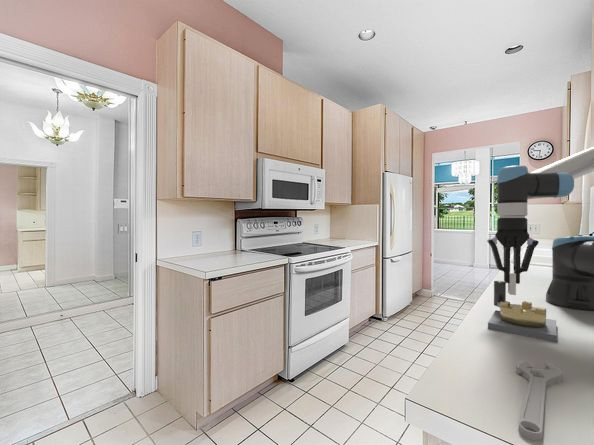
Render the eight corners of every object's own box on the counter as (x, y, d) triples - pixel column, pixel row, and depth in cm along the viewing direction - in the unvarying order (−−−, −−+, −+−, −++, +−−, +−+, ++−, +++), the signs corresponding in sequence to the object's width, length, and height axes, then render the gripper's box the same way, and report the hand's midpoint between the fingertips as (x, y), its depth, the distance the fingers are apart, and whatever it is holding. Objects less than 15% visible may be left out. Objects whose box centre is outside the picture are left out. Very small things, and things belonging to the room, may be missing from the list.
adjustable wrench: (542, 448, 39) (542, 435, 39) (486, 424, 44) (486, 412, 44) (563, 376, 56) (563, 367, 56) (521, 364, 61) (521, 356, 61)
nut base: (494, 310, 95) (494, 305, 95) (555, 320, 86) (555, 315, 86) (483, 327, 81) (483, 321, 81) (556, 342, 71) (556, 335, 71)
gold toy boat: (556, 327, 75) (556, 295, 75) (513, 326, 77) (513, 294, 77) (514, 307, 93) (514, 281, 93) (480, 306, 94) (480, 280, 94)
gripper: (534, 217, 92) (533, 292, 92) (485, 217, 97) (484, 289, 98) (542, 217, 85) (542, 299, 85) (489, 217, 90) (489, 294, 91)
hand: (511, 293), depth 91 cm, fingers closed
